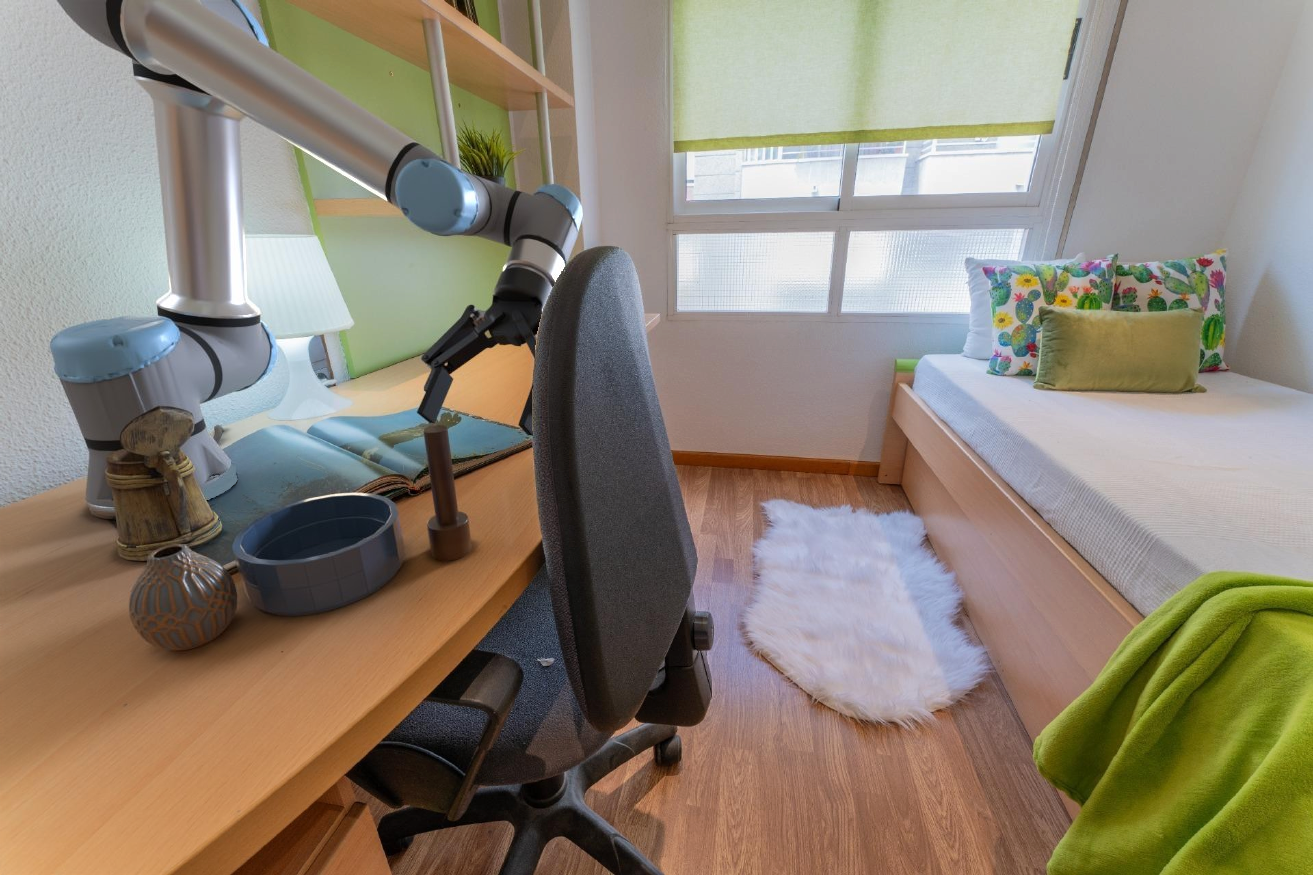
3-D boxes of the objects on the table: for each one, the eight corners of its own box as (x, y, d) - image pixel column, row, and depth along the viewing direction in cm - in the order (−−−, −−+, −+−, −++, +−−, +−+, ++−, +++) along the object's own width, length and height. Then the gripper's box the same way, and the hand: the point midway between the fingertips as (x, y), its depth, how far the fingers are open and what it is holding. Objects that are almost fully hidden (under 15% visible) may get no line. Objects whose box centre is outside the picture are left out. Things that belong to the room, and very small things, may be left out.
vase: (263, 610, 50) (239, 530, 47) (203, 664, 43) (170, 576, 40) (193, 607, 50) (164, 528, 47) (122, 662, 43) (83, 574, 40)
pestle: (424, 550, 60) (405, 428, 55) (460, 536, 63) (445, 419, 58) (442, 565, 57) (424, 439, 52) (479, 550, 60) (465, 428, 55)
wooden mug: (158, 584, 53) (95, 418, 47) (106, 547, 59) (44, 395, 53) (255, 544, 60) (213, 395, 54) (200, 514, 67) (156, 378, 60)
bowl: (233, 573, 55) (217, 524, 53) (375, 524, 65) (367, 481, 63) (270, 641, 46) (253, 584, 44) (428, 572, 56) (421, 523, 54)
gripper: (623, 307, 70) (581, 449, 62) (462, 298, 76) (405, 426, 68) (608, 267, 63) (559, 420, 55) (434, 261, 69) (366, 398, 61)
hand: (474, 424), depth 61 cm, fingers open, 13 cm apart
